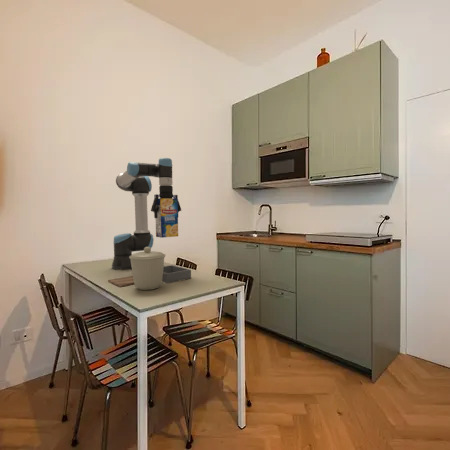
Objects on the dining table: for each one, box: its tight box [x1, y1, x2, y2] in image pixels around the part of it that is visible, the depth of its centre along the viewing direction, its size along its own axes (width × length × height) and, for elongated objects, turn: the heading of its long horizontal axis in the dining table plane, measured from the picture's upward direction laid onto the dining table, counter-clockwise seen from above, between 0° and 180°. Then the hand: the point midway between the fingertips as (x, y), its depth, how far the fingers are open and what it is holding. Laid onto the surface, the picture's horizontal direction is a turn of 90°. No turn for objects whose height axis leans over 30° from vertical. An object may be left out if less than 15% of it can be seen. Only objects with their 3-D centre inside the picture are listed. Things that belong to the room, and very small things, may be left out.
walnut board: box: [107, 275, 135, 288], centre depth 161 cm, size 16×14×1 cm
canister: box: [129, 247, 167, 291], centre depth 149 cm, size 18×18×21 cm
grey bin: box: [162, 264, 192, 284], centre depth 171 cm, size 20×16×5 cm
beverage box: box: [155, 197, 179, 239], centre depth 169 cm, size 7×11×22 cm, turn 129°
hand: (166, 223), depth 169 cm, fingers closed on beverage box, 11 cm apart
